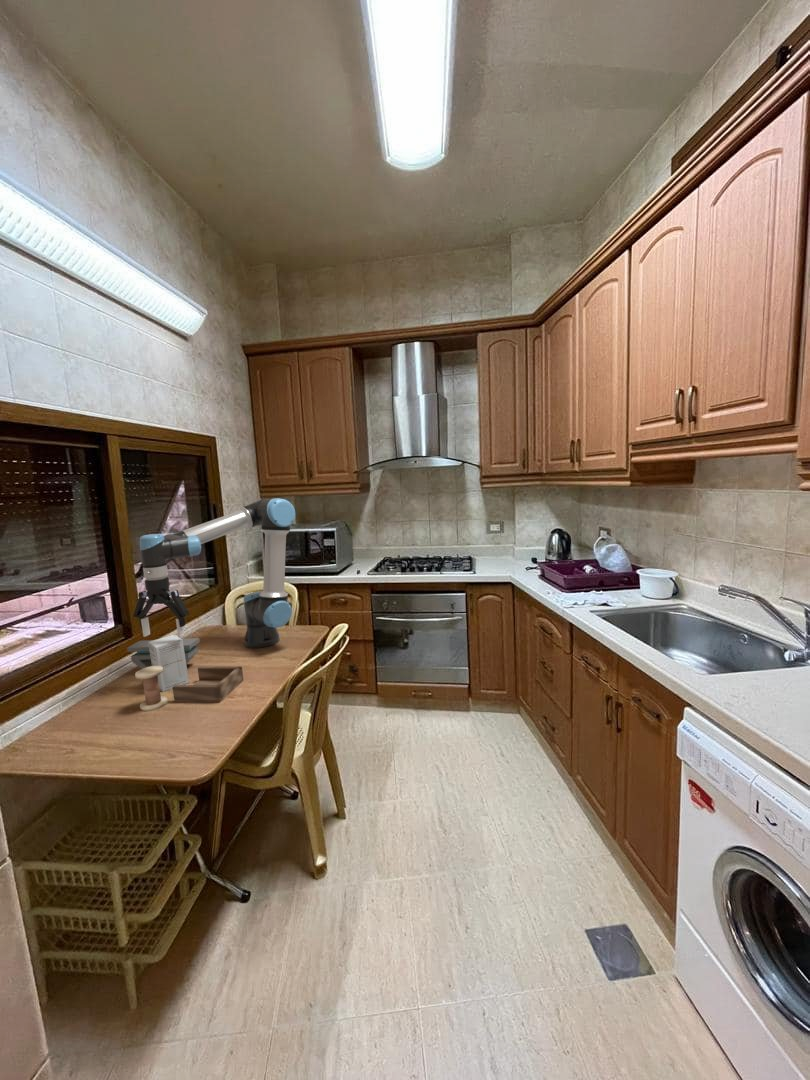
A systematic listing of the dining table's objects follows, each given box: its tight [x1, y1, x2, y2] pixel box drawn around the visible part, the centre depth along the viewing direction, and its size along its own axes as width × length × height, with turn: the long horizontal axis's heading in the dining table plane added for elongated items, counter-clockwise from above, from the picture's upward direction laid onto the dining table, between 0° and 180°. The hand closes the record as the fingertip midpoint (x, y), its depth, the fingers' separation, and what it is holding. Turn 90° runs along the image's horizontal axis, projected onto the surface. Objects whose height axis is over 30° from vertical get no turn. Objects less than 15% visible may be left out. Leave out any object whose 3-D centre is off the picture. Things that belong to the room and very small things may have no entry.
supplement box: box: [148, 634, 190, 693], centre depth 164 cm, size 10×9×17 cm
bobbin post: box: [134, 666, 169, 712], centre depth 149 cm, size 8×8×12 cm
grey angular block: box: [126, 637, 201, 670], centre depth 179 cm, size 25×8×11 cm, turn 88°
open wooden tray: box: [172, 666, 244, 703], centre depth 157 cm, size 16×16×5 cm
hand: (164, 635), depth 162 cm, fingers open, 13 cm apart
